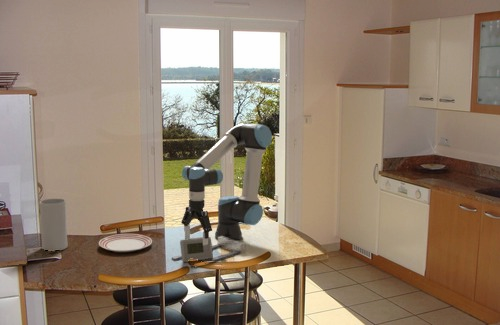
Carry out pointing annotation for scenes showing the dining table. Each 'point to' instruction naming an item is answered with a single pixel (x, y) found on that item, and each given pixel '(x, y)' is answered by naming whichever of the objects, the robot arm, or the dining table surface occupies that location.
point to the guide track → (224, 243)
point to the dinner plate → (125, 242)
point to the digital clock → (196, 249)
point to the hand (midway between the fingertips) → (196, 241)
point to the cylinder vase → (53, 224)
